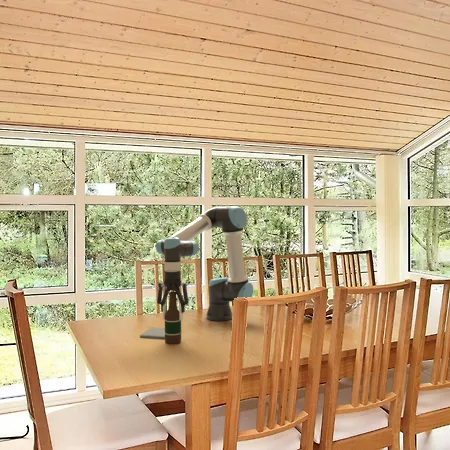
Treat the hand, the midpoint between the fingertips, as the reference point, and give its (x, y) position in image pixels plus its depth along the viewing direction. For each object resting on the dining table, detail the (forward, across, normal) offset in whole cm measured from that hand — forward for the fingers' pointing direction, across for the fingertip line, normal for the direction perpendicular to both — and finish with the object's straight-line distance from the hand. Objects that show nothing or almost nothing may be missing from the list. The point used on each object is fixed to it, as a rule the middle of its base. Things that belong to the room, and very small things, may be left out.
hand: (172, 319), depth 224 cm
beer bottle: (+11, 0, 0) cm, 11 cm away
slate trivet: (+11, +11, -13) cm, 20 cm away
